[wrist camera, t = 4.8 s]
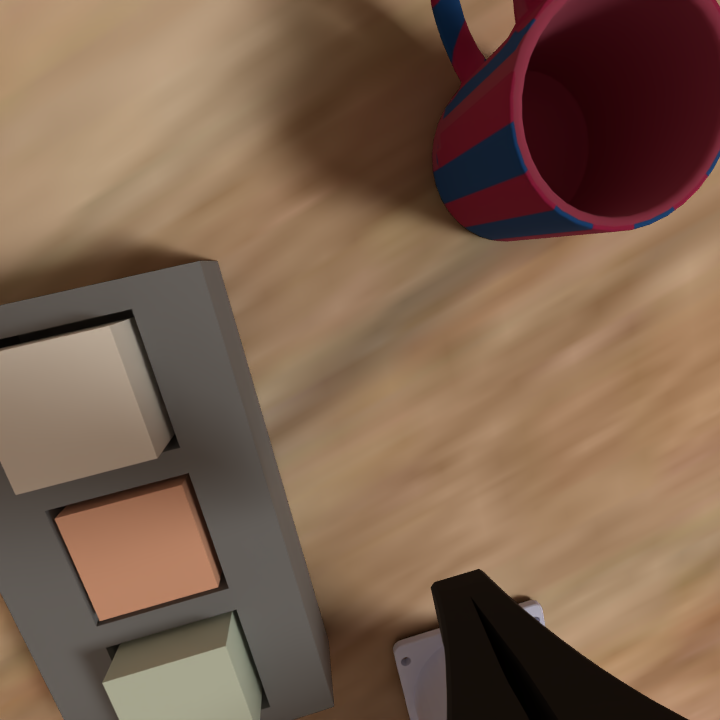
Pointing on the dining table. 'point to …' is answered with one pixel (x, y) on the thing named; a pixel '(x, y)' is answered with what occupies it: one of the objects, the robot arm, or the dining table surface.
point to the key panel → (181, 456)
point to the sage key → (187, 674)
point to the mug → (579, 116)
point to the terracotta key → (141, 546)
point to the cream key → (79, 406)
